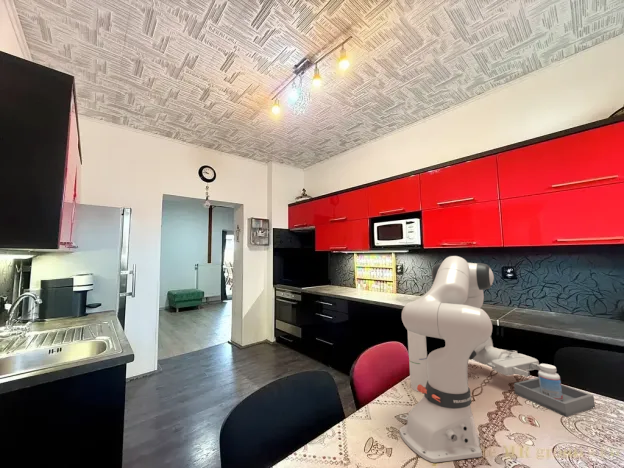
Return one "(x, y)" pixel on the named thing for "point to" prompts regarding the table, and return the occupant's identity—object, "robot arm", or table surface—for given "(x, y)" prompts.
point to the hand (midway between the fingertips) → (536, 372)
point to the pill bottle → (550, 382)
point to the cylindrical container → (417, 360)
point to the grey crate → (568, 406)
